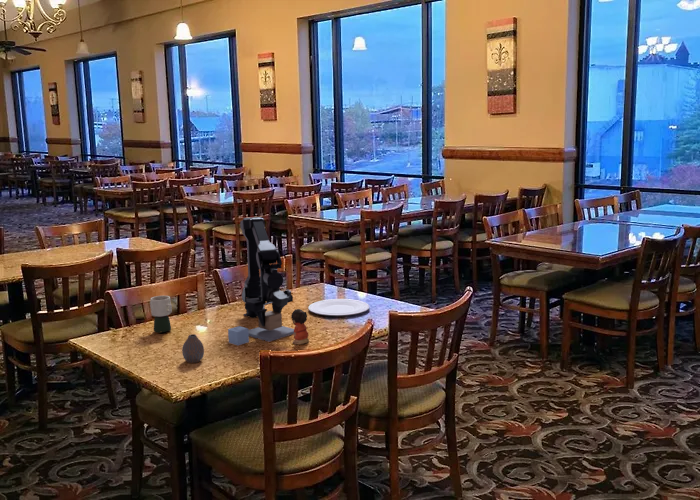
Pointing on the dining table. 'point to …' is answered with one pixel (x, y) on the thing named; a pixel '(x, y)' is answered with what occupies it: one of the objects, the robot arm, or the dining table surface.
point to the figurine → (300, 326)
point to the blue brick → (238, 335)
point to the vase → (193, 349)
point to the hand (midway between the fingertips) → (270, 324)
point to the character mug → (161, 313)
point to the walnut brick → (271, 320)
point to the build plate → (270, 333)
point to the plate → (338, 307)
